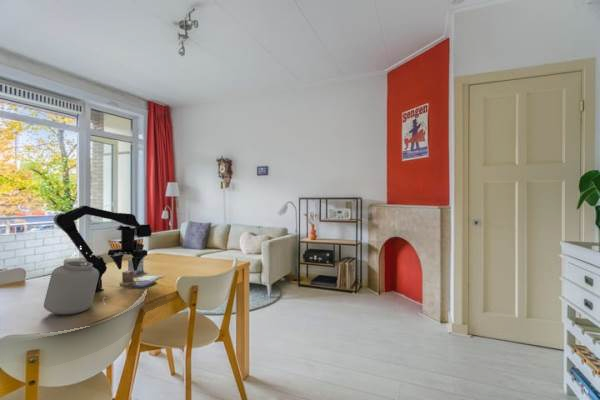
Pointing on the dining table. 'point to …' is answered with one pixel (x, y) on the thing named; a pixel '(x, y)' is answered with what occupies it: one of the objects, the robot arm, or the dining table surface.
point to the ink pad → (143, 284)
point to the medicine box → (139, 269)
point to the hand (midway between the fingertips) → (127, 269)
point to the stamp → (127, 278)
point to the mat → (148, 278)
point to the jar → (71, 288)
